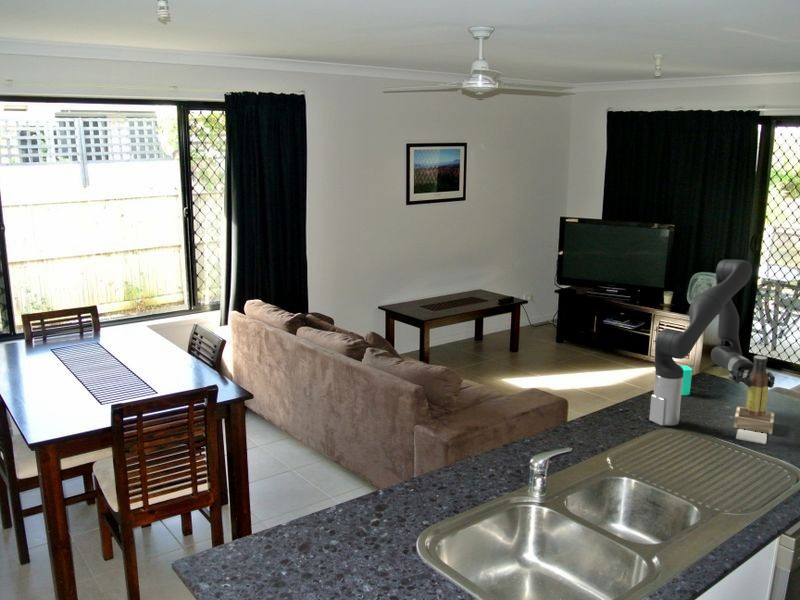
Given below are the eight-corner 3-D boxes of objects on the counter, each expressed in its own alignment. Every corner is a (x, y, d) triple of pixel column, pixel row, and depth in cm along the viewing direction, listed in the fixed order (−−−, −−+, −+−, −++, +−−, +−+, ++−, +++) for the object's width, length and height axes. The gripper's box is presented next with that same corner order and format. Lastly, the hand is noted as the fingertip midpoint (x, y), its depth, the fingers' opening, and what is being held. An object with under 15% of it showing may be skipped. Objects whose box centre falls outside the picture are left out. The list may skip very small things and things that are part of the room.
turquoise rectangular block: (676, 389, 289) (679, 361, 286) (691, 392, 285) (694, 363, 283) (672, 393, 284) (674, 364, 282) (687, 396, 281) (690, 367, 278)
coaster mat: (765, 444, 235) (765, 443, 235) (735, 438, 239) (736, 437, 239) (766, 435, 243) (767, 433, 243) (738, 429, 247) (738, 428, 247)
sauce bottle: (761, 410, 242) (768, 354, 238) (768, 417, 236) (776, 360, 232) (741, 409, 243) (748, 353, 238) (748, 416, 237) (755, 359, 232)
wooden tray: (771, 434, 243) (773, 423, 242) (733, 427, 249) (734, 416, 248) (773, 423, 253) (774, 412, 253) (736, 416, 259) (737, 406, 258)
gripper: (722, 358, 251) (739, 373, 235) (765, 359, 249) (785, 374, 233) (720, 378, 252) (737, 394, 236) (762, 380, 251) (782, 396, 235)
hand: (760, 384), depth 235 cm, fingers closed on sauce bottle, 6 cm apart
